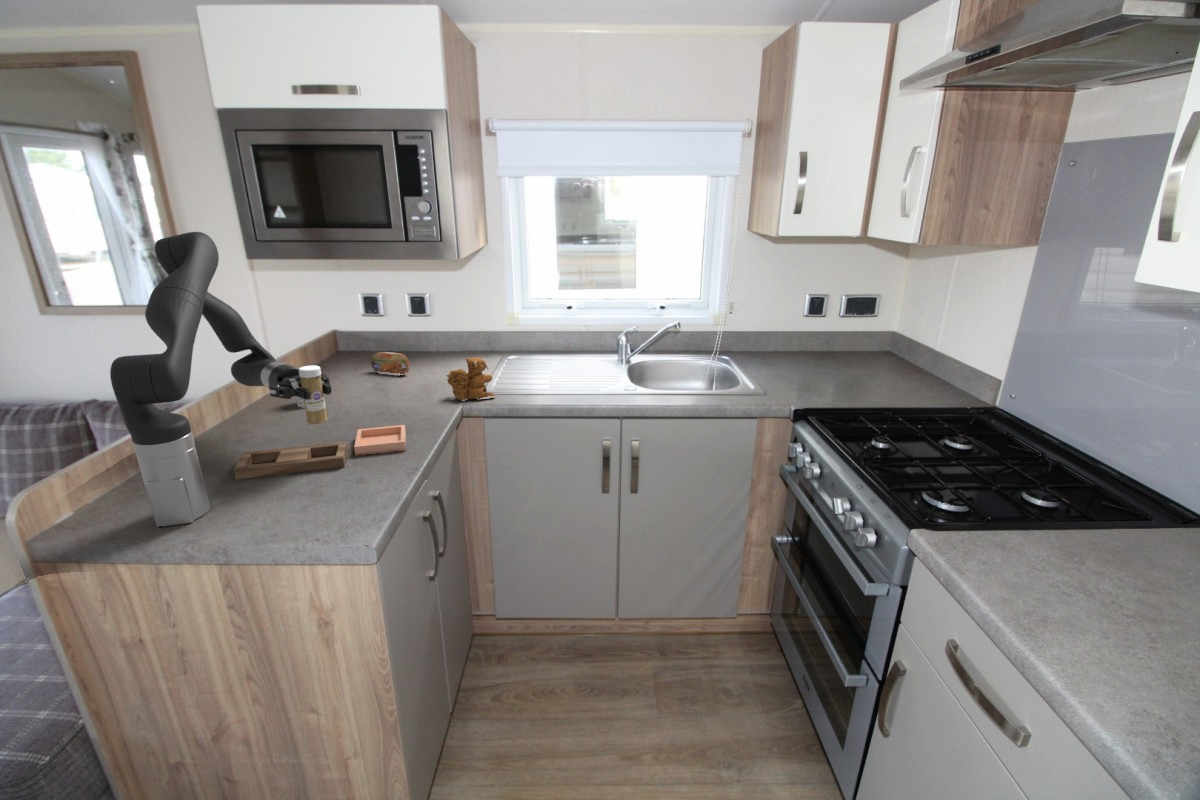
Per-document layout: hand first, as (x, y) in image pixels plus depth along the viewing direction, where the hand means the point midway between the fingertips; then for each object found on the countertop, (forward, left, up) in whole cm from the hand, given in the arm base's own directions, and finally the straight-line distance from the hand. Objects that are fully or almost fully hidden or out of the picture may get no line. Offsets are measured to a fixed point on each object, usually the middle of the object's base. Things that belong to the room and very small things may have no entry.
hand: (318, 392), depth 132 cm
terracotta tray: (+9, -11, -18) cm, 23 cm away
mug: (+49, +11, -19) cm, 54 cm away
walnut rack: (+2, +8, -18) cm, 20 cm away
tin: (+75, -12, -19) cm, 79 cm away
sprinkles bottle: (+2, +2, -8) cm, 8 cm away
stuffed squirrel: (+41, -38, -19) cm, 59 cm away
